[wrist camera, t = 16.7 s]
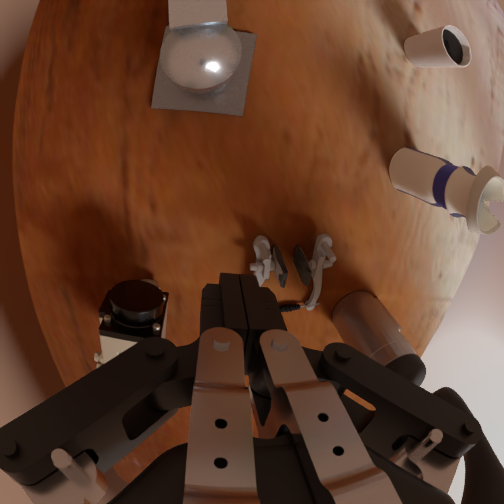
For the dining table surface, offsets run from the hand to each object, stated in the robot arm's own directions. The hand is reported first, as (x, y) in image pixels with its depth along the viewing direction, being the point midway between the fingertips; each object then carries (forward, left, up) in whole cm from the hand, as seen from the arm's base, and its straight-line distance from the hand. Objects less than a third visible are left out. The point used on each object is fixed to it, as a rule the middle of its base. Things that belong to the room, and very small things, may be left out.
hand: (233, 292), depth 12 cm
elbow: (+5, -19, -24) cm, 31 cm away
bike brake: (-13, +17, -30) cm, 36 cm away
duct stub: (+4, -14, -29) cm, 32 cm away
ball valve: (+10, +22, -29) cm, 38 cm away
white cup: (-28, -27, -29) cm, 49 cm away
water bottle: (-30, -6, -29) cm, 42 cm away
